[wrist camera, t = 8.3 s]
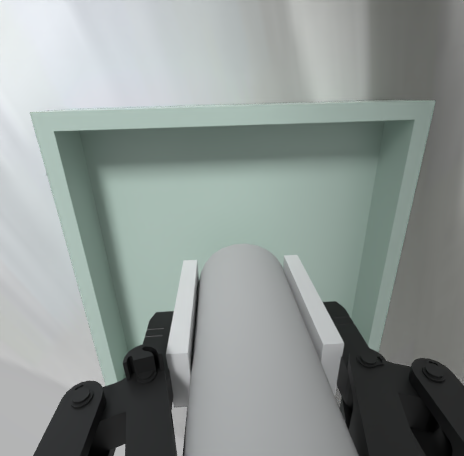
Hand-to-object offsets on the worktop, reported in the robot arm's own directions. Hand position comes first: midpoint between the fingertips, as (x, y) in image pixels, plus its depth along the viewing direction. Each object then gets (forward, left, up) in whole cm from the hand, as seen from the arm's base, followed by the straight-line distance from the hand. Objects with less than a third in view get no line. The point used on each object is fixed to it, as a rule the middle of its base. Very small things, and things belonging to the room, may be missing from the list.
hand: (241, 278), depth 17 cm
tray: (0, 0, -3) cm, 3 cm away
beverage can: (0, 0, -1) cm, 1 cm away
